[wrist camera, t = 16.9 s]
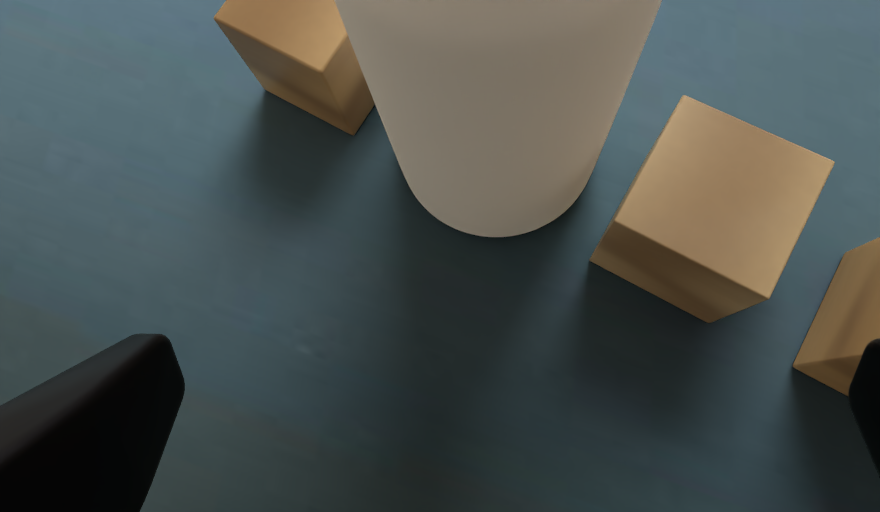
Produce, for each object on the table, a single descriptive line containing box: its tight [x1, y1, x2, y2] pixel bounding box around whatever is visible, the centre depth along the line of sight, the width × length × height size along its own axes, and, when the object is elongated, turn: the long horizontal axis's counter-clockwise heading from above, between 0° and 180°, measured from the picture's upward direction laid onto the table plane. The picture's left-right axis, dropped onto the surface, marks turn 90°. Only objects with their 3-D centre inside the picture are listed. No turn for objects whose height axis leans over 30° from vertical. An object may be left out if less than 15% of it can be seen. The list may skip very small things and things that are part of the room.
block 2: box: [590, 95, 835, 323], centre depth 16 cm, size 4×4×4 cm
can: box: [334, 0, 662, 237], centre depth 14 cm, size 6×6×12 cm
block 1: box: [214, 0, 375, 135], centre depth 19 cm, size 4×4×4 cm
